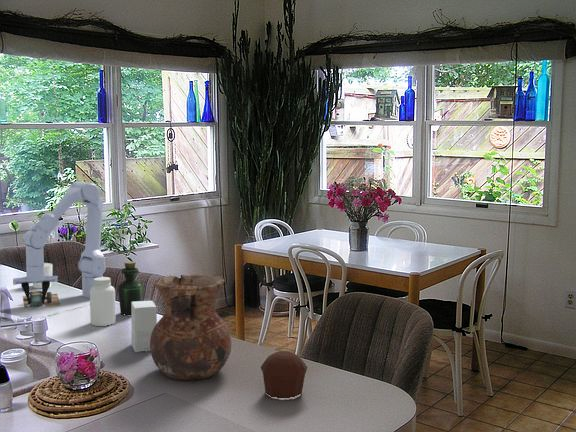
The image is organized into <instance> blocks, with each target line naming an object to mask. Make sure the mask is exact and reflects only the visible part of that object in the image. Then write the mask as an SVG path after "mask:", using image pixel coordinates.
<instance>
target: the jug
mask: <svg viewBox="0 0 576 432" xmlns="http://www.w3.org/2000/svg"><path fill="white" fill-rule="evenodd" d="M224 283H225V278H224V277H222V276H220V275H213V274H212V275H210V274H191V275H187V274H186V275H185V274H181V275H180V277H178V276H176V275H175V276H174V275H173V276H172V275H167V276H164V277H163V278H162V279H160V280H159V281H157V282H155V284H154V286H155V288H157V289H156V290H158V291H159V293H160V295H161V297H162V299H163V302H164V306H165V307H164V308H165V311H164V314H163V316H162V317H161V318H160V319H159V321H158V320H157V321H158V322H157V324H156V325H155V327H154V329H153V331H152V334H151V338H150V351H149V352H150V354H151V357H152V361H153V362H154V364H155V366H156V367H157V368H158V370H159V371H160V372H162V373H163V374H164V375H166V376H167V377H169V378H171V379H173V378H174V379H173V380H177V379H180V380H179V381H195V380H194V379H197V380H202V379H207V378H206V377H208V378H210V376H211V377H213V376H215V375H216V374H217V373H219V372H220V370H222V369H223V367H224V366H225V365H226V363H227V361H228V359H229V357H230V354H231V351H232V347H233V345H232V344H233V343H232V342H233V341H232V336H231V332H230V329H229V327H228V325H227V323H226V321H224V319H223V318H222V317H221V316H220V315H219V314H218V313H217V311H216V301H217V296H218V294H219V291H220V289H222V286H223V285H224ZM212 375H213V376H212ZM201 378H202V379H201Z"/></svg>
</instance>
